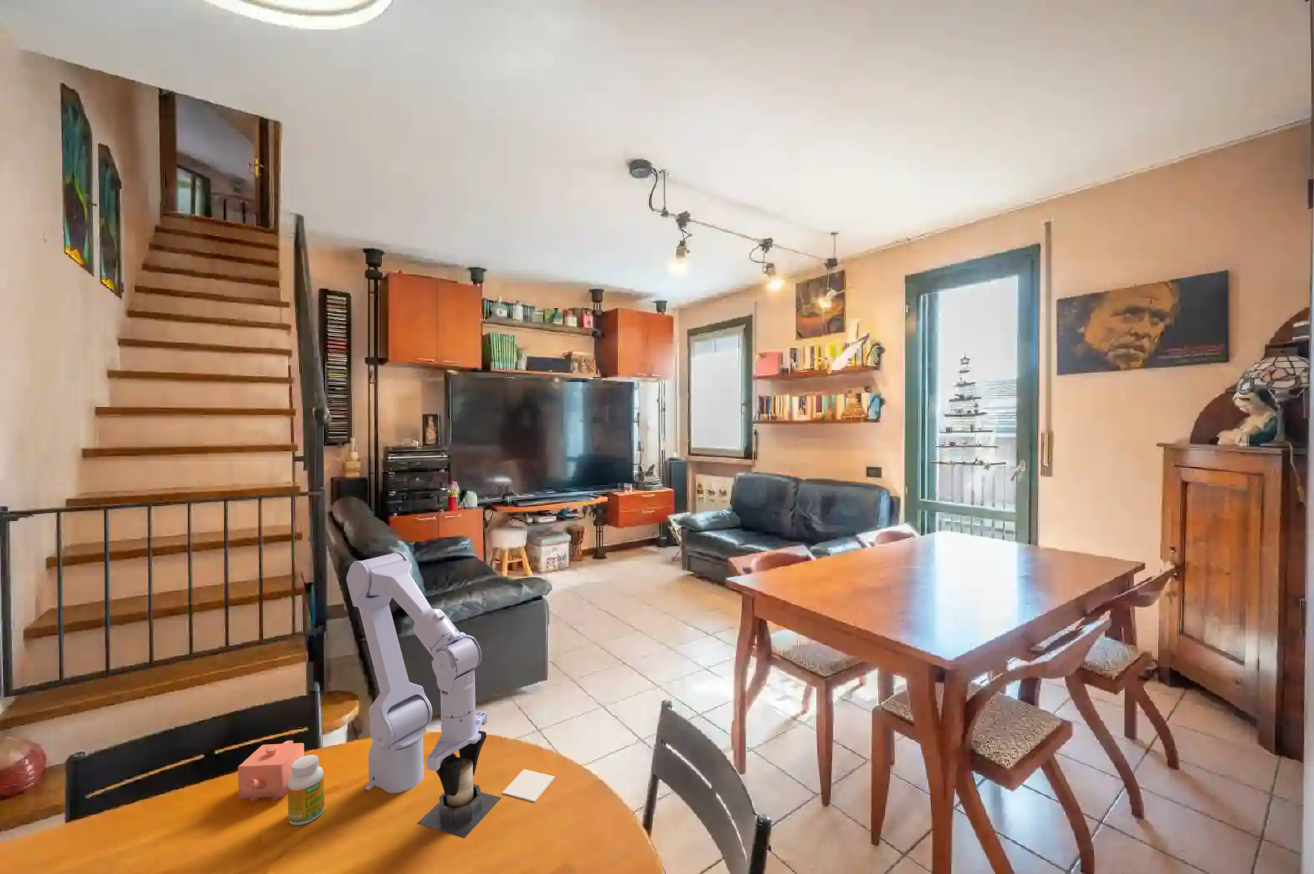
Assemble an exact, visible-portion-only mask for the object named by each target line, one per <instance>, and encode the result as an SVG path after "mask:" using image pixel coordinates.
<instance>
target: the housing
mask: <svg viewBox="0 0 1314 874" xmlns="http://www.w3.org/2000/svg"><path fill="white" fill-rule="evenodd" d="M438 798H439V799H438V801H439V802H437V804H436V805H435V806H434V807H432V808H431V809H430V810H429V811H428V812H427V813H426V814H425V815H423V817H422V818H421V819H419V820H418V822H417V823H416V824H417V825H421V826H424V827H426V828H427V827H428V828H430V829H434V830H436V831H439V832H442V833H443V832H444V833H446V834H450V835H453V836H456V837H459V838H462V839H465V838H466V837H467V836H468V835H469V834H470V833H471V832H472V831H473V829H474V828H476V827H477V825H478V824H480V822H481V821H482V820H483V819H484V818H485V817H486V815H487V814H488V813H489V812H490V811H492V809H493V808H494V807H495V806H496V805H497V803H498V802H499V801H500V800H501V799H502V797H500V796H497V795H493V794H490V793H486V792H481V788H480V785H478V784H475V783H473V801H472V802H471V803H470V804H468V805H465V806H462V807H459V808H455V809H454V808H451V807H447V795H446V794H445V792H443V793H442V794H441V795H440V796H438Z"/></svg>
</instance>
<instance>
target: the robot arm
mask: <svg viewBox="0 0 1314 874" xmlns="http://www.w3.org/2000/svg"><path fill="white" fill-rule="evenodd" d="M346 584H347V587H348V592H349V595H350V600H351V602H352V603H351V604H352V606H353V607H355V608H358V611H359V614H360V618H361V621H362V626H363V629H364V635H365V638H366V642H367V646H368V650H369V653H370V657H371V658H370V659H371V661H372V665H373V670H374V674H375V677H376V682H377V686H378V689H379V694H378V696H377V697H376V698H375V700H374V701H373V703H372V704H371V706H370V707H369V709H368V715H369V734H370V738H371V740H372V743H371V744H370V746H369V747H370V748H369V751H368V755H367V756H368V757H367V758H368V761H367V762H368V763H367V764H368V784H367V785H366V786H365V788H364V790H365V791H367V792H369V790H371V789H372V788H374V786H376V787H379V788H380V789H382V790H384V791H385V792H387V793H390V794H398V793H402V792H407V791H408V790H411V789H413V788H416V786H418V785H419V784H420V783H421V782H422V780H423V778H424V774H425V773H424V771H425V770H424V769H425V768H424V733H426V732H427V726H428V725H429V724H430V723H431V721H432V719H433V718H432V717H433V707H432V704H431V702H430V700H429V699H428V697H427V696H426V694H425V691H424V687H423V686H422V685H419V684H415V683H414V682H410V680H409V675H408V672H407V669H406V665H405V661H404V657H403V653H402V650H401V646H400V642H399V638H398V635H397V631H396V626H395V623H394V619H393V615H392V611H391V607H390V602H391V601H392V599H393V600H394V601H395V602H396V603H397V604H398V605H399V606H400V607H401V609H403V610H404V612H406V614H407V615H408V616H410V618H411V619H412V620H413V621H414V625H413V628H412V629H413V630H412V631H413V633H414V635H415V636H416V637H417V638H418V640H419V641H420V642H421V644H422V645H423V646H424V647H425V649H426V650H427V651H428V652H429V654H430V655H431V657H432V658H433V660H431V666H432V671H433V672H434V675H435V676H436V677H435V678H436V685H437V688H438V689H439V691H440V730H441V734H440V736H439V738H438V739H437V741H436V744H435V745H434V747H433V749H432V751H431V752H430V754H429V755H428V756H427V757H426V770H429V771H433V772H434V771H435V772H436V774H437V775H438V778H439V780H440V783H441V785H442V788H443V791H444V792H445V794H446V795H450V796H455V795H456V794H457V792H458V787H459V774H460V769H461V766H462V763H463V761H464V758H468V759H471V760H472V762H473V777H474V776H475V773H476V770H477V765H478V760H479V756H480V752H481V750H482V747H483V746H484V743H485V741H486V739H487V732H486V731H484V730H483V731H482V730H481V727H482V726H485V725H486V724H487V723H488V712H485V711H476V676H475V675H476V674H475V671H476V670H475V668H477V667H478V666H480V664H481V662H482V649H481V646H480V643H479V642H478V641H477V639H476V638H475V637H474V636H472V635H468V634H466V633H465V632H463V631H462V632H461V631H459V630H458V629H457V627H456V625H455V624H454V623H453V622H452V621H451V620H450V618H449V617H448V616H447V615H446V613H445V612H444V611H443V610H442V609H441V608H432V607H431V604H430V603H429V602H428V600H427V598H426V597H425V595H424V594H423V592H422V590H421V589H420V588H419V586H418V584H417V583H416V581H415V579H414V578H413V565H412V562H410V560H409V557H408V556H407V555H406V554H405V553H404V552H402V551H395V552H392V553H389V554H384V555H380V556H377V557H373V558H367V559H364V560H355V561H353V562H352V563H351V564H350V566H349V569H348V572H347V575H346ZM457 751H458V753H459V756H457V755H456V754H455V753H456V752H457ZM444 792H443V793H444Z"/></svg>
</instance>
